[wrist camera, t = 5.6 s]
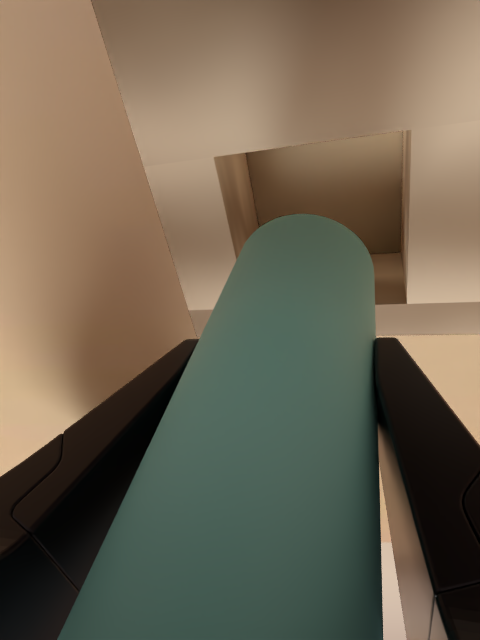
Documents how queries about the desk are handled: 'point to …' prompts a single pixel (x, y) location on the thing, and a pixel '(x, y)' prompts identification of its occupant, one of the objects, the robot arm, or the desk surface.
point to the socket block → (308, 130)
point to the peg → (259, 464)
